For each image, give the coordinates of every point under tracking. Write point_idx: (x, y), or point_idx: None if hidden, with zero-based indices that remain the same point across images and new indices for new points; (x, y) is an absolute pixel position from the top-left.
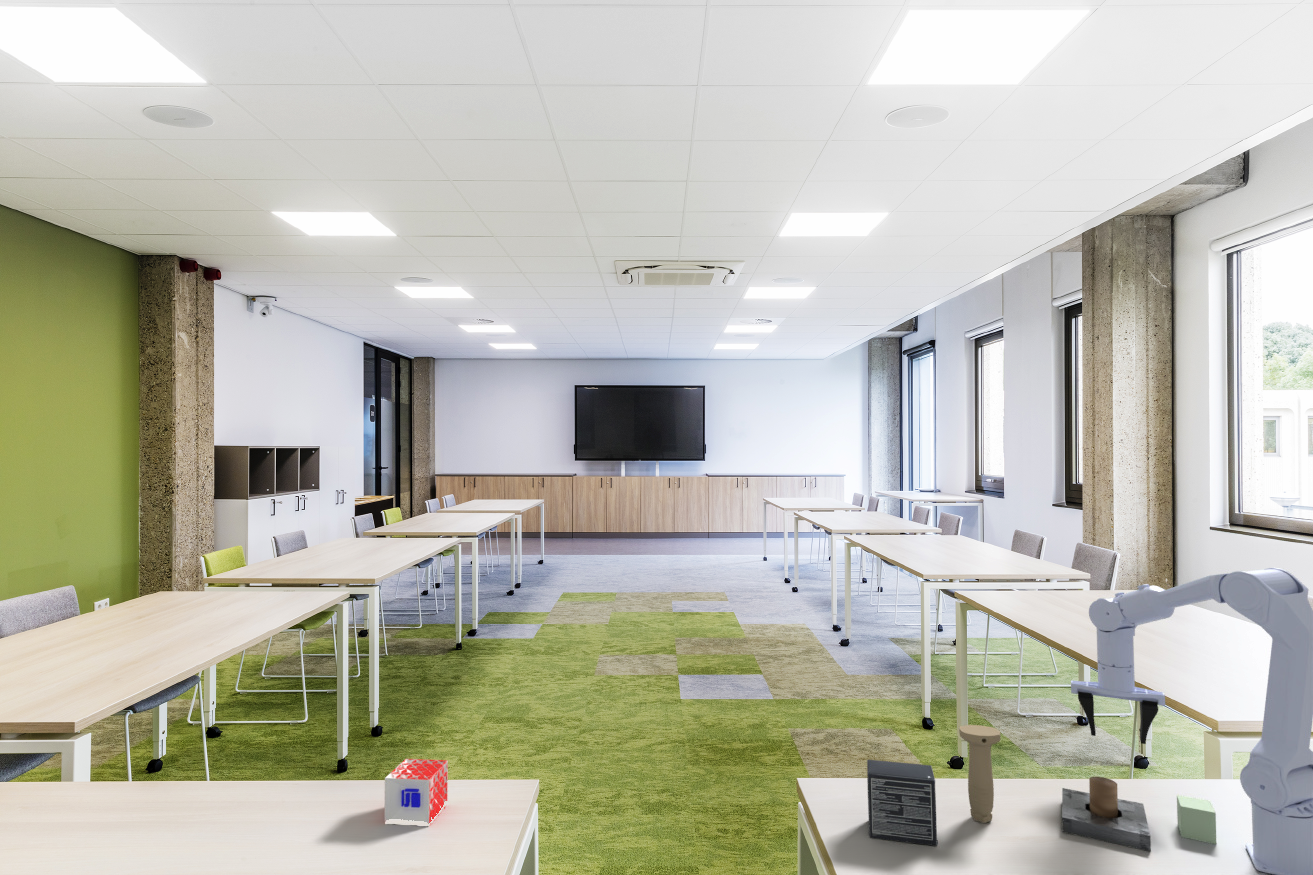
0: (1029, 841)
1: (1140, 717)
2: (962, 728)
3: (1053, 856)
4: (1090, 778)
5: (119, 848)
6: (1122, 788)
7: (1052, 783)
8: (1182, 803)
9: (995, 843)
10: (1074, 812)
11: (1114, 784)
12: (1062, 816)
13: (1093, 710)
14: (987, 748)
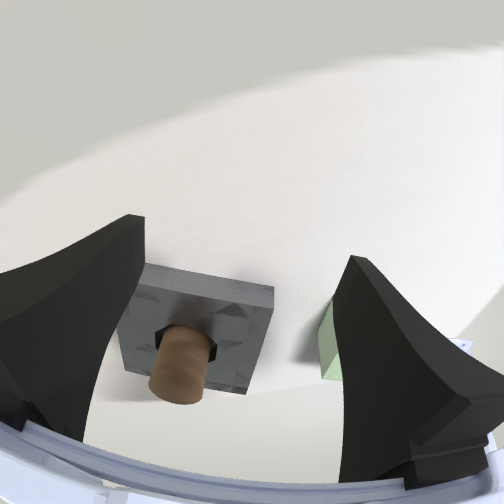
0: (101, 371)
1: (394, 323)
2: None
3: (130, 391)
4: (150, 382)
5: None
6: (274, 133)
7: (97, 167)
8: (331, 370)
9: None
10: (139, 357)
11: (196, 396)
12: (125, 368)
13: (91, 389)
14: None
